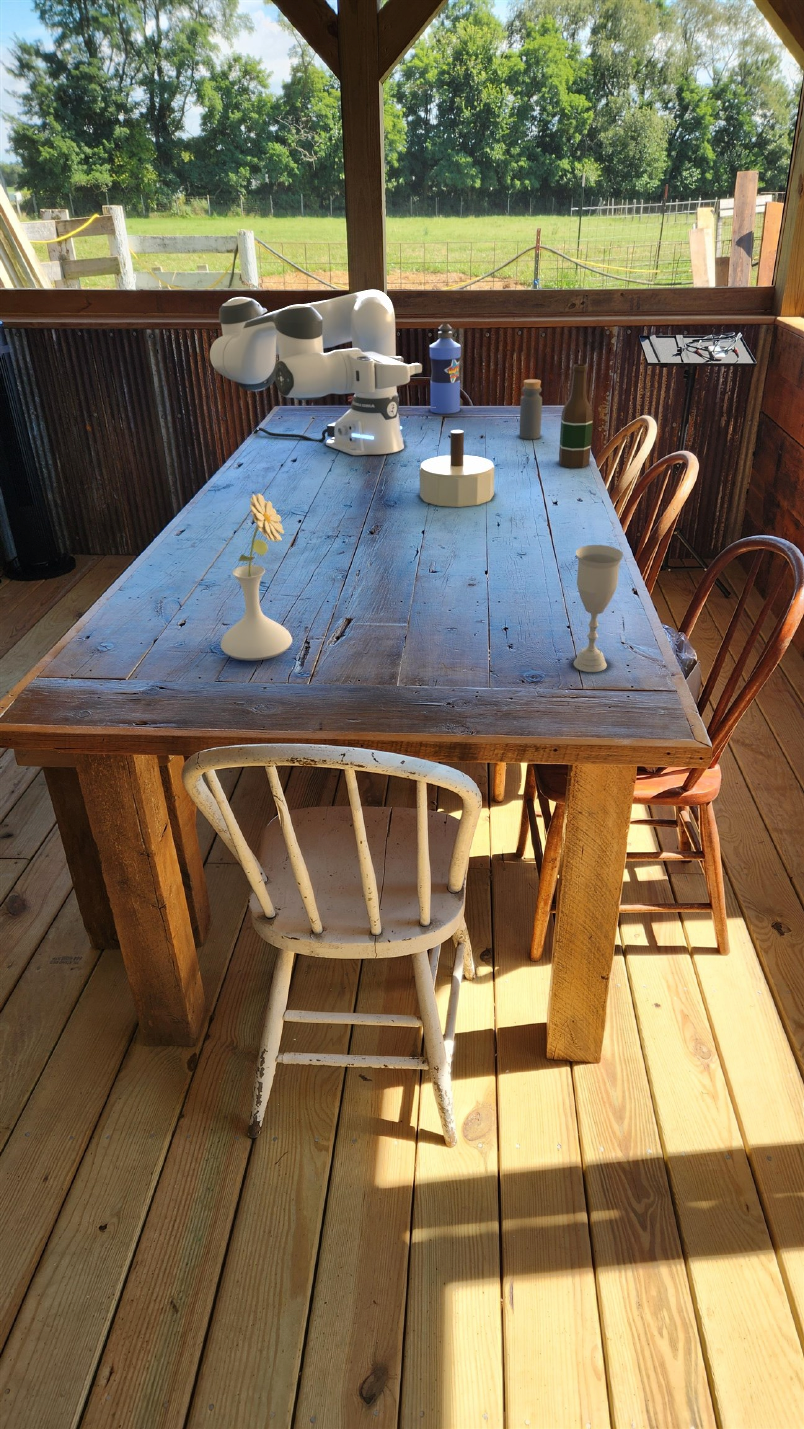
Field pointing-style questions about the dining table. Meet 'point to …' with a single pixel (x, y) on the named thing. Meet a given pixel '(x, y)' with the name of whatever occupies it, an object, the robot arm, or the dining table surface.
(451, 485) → the lid
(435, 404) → the water bottle
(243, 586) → the flower in vase
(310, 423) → the dining table surface
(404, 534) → the dining table surface
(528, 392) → the bottle
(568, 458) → the beer bottle
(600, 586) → the chalice
